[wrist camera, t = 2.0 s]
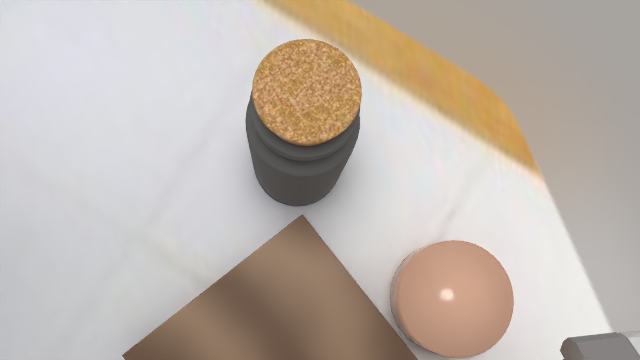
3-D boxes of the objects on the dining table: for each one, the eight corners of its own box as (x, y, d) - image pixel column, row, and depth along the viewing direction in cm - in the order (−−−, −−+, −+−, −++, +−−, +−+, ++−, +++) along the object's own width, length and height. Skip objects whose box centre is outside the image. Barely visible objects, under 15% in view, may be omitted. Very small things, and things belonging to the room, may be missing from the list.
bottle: (356, 176, 39) (401, 108, 25) (285, 223, 38) (287, 182, 24) (309, 107, 40) (325, 1, 25) (237, 152, 39) (211, 69, 24)
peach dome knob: (436, 374, 37) (452, 383, 34) (368, 289, 38) (376, 289, 35) (514, 305, 39) (536, 307, 35) (446, 223, 39) (462, 217, 36)
